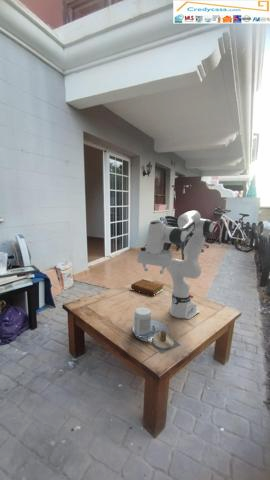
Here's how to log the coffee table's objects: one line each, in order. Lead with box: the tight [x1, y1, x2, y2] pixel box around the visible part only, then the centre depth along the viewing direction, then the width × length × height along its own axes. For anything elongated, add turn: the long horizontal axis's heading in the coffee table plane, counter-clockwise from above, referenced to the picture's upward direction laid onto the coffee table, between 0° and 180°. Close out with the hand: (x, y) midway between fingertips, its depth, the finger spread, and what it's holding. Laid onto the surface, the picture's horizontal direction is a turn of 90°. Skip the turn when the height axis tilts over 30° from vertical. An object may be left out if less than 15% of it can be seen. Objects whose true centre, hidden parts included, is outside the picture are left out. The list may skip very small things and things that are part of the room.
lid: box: [152, 330, 175, 349], centre depth 120 cm, size 12×12×6 cm
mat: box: [147, 339, 181, 354], centre depth 121 cm, size 14×14×1 cm
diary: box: [130, 278, 164, 297], centre depth 197 cm, size 23×19×6 cm
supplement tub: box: [133, 307, 152, 338], centre depth 128 cm, size 10×10×15 cm
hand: (153, 272), depth 127 cm, fingers open, 8 cm apart
